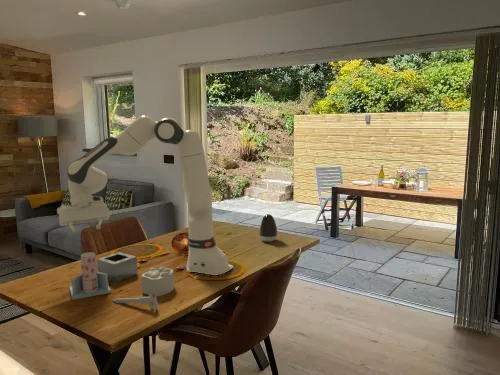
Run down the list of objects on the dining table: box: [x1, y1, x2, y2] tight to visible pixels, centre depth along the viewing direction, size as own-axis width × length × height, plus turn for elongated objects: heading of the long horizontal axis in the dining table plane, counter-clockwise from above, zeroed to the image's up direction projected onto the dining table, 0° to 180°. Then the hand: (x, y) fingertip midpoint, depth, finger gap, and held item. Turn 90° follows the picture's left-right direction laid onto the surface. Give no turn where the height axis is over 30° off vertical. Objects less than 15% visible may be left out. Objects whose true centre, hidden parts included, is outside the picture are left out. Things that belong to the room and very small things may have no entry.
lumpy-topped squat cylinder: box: [140, 266, 175, 298], centre depth 174 cm, size 10×13×9 cm
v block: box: [69, 271, 112, 301], centre depth 173 cm, size 12×14×7 cm
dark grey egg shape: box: [258, 214, 278, 243], centre depth 241 cm, size 10×10×15 cm
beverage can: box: [80, 251, 98, 293], centre depth 171 cm, size 6×6×15 cm
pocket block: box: [96, 251, 138, 283], centre depth 191 cm, size 12×12×8 cm
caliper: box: [112, 294, 159, 311], centre depth 160 cm, size 20×1×6 cm, turn 67°
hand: (87, 230), depth 181 cm, fingers open, 8 cm apart
